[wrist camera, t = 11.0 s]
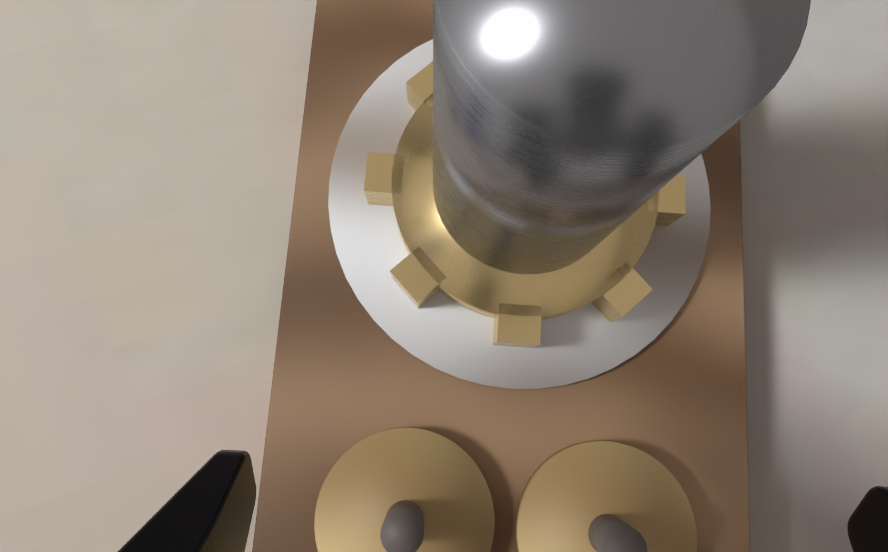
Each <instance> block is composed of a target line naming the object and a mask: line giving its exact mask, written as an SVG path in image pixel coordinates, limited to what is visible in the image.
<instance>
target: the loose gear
mask: <svg viewBox="0 0 888 552" xmlns="http://www.w3.org/2000/svg"><path fill="white" fill-rule="evenodd" d="M809 9H810V0H433V61H432V62H431V63H430V64H428V65H427V66H426V67H425V68H423V69H422V70H421V71H420V72H418V73H417V74H416V75H414V76H413V77H412V78H411V79H409V80H408V81H407V82H406V89H407V101H408V103H409V104H410V106H411V107H412V108H413V109H414V110H415V113H414V114H413V116H412V117H411V119H410V121H409V122H408V124H407V125H406V127H405V129H404V132H403V134H402V136H401V138H400V140H399V143H398V147H397V150H396V153H395V154H388V153H374V152H368V153H367V163H366V173H365V184H364V193H365V196H366V199H367V202H368V205H382V206H393V207H394V212H395V217H396V221H397V225H398V229H399V233H400V236H401V238H402V241H403V243H404V246H405V248H406V250H407V252H408V254H409V255H408V256H407V257H406V258H404V259H403V260H402V261H401V262H400V263H398V264H397V265H396V266H395V267H394V268H392V269H391V270H390V273H391V276H392V279H393V280H394V281H395V282H396V284H397V285H398V286H399V287H400V288H401V289H402V290H403V292H404V293H405V294H406V295H407V296H408V297H409V298H410V300H411V301H412V302H413V303H414V304H415V305H416V307H417V308H418V309H419V308H420V307H421V306H422V305H423V304H424V303H426V302H427V301H428V300H429V299H430V298H431V297H433V296H434V295H435V294H436V293H437V292H438V291H439V292H441V293H442V294H443V295H445V296H446V297H447V298H449V299H450V300H452V301H453V302H455V303H457V304H458V305H460V306H462V307H464V308H466V309H468V310H470V311H473V312H475V313H478V314H480V315H484V316H487V317H491V318H494V327H493V345H495V346H509V347H524V348H534V347H536V346H539V345H540V334H541V320H546V319H551V318H554V317H558V316H562V315H565V314H567V313H570V312H572V311H575V310H577V309H579V308H581V307H583V306H585V305H586V304H588V303H590V302H592V304H593V305H594V306H595V307H596V308H597V309H598V310H599V311H600V312H601V313H602V314H603V315H604V317H605V318H606V319H607V320H608V321H609V322H611V321H613V320H616V319H619V318H621V317H623V316H624V315H625V314H626V313H628V312H629V311H630V310H631V309H632V308H633V307H634V306H635V305H636V304H637V303H638V302H640V301H641V300H642V299H643V298H644V297H645V296H646V295H647V294H648V293H649V292H650V291H652V290H653V289H652V288H651V287H650V286H649V285H648V284H647V283H646V281H645V280H644V279H643V278H642V277H641V276H640V275H639V274H638V273H637V272H636V271H635V270H634V269H633V267H634V266H635V264H636V263H637V261H638V260H639V259H640V257H641V256H642V254H643V252H644V250H645V248H646V246H647V244H648V243H649V240H650V238H651V235H652V232H653V229H654V227H655V225H664V226H669V225H670V224H672V223H673V222H675V221H676V220H678V219H679V218H681V217H682V216H683V215H685V214H686V186H685V175H682V174H679V173H680V172H681V171H682V170H683V169H684V168H685V167H687V166H688V165H689V164H690V163H691V162H692V161H693V160H694V159H696V158H697V157H698V156H699V155H700V154H701V153H702V152H704V151H705V150H706V149H707V148H708V147H709V146H710V145H711V144H713V143H714V142H715V141H716V140H717V139H718V138H719V137H721V136H722V135H723V134H724V133H725V132H726V131H727V130H728V129H730V128H731V127H732V126H733V125H734V124H735V123H736V122H737V121H739V120H740V119H741V118H742V117H743V116H744V115H745V114H747V113H748V112H749V111H750V110H751V109H752V108H753V107H754V106H756V105H757V104H758V103H759V102H760V101H761V100H762V99H763V98H764V97H765V96H766V95H767V94H768V93H769V92H770V91H771V90H772V89H773V88H774V87H775V86H776V84H777V83H778V82H779V80H780V79H781V77H782V76H783V75H784V73H785V72H786V71H787V69H788V68H789V66H790V64H791V62H792V60H793V58H794V56H795V55H796V53H797V51H798V49H799V47H800V44H801V41H802V38H803V35H804V32H805V29H806V26H807V20H808V14H809Z"/></svg>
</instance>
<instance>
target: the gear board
mask: <svg viewBox="0 0 888 552" xmlns="http://www.w3.org/2000/svg"><path fill="white" fill-rule="evenodd" d="M432 61H433V0H317V5H316V14H315V22H314V31H313V39H312V48H311V56H310V65H309V73H308V82H307V90H306V99H305V107H304V116H303V124H302V133H301V141H300V150H299V158H298V167H297V175H296V184H295V193H294V201H293V210H292V218H291V227H290V235H289V244H288V252H287V261H286V269H285V278H284V286H283V295H282V303H281V312H280V320H279V329H278V337H277V346H276V354H275V363H274V371H273V380H272V388H271V397H270V405H269V414H268V422H267V431H266V439H265V448H264V456H263V465H262V473H261V482H260V490H259V499H258V507H257V516H256V524H255V533H254V541H253V550H252V552H750V544H749V501H748V459H747V416H746V373H745V330H744V287H743V244H742V201H741V158H740V120H739V121H737V122H736V123H735V124H734V125H733V126H732V127H731V128H730V129H728V130H727V131H726V132H725V133H724V134H723V135H722V136H721V137H719V138H718V139H717V140H716V141H715V142H714V143H713V144H711V145H710V146H709V147H708V148H707V149H706V150H705V151H704V152H702V153H701V154H700V155H699V156H698V157H697V158H696V159H694V160H693V161H692V162H691V163H690V164H689V165H688V166H687V167H685V168H684V169H683V170H682V171H681V172H680V173H679V174H682V175H685V186H686V214H685V215H683V216H682V217H681V218H679V219H678V220H676V221H675V222H673V223H672V224H670V225H669V226H664V225H655V227H654V229H653V232H652V235H651V238H650V240H649V243H648V244H647V246H646V248H645V250H644V252H643V254H642V256H641V257H640V259H639V260H638V261H637V263H636V264H635V266H634V267H633V269H634V270H635V271H636V272H637V273H638V274H639V275H640V276H641V277H642V278H643V279H644V280H645V281H646V283H647V284H648V285H649V286H650V287H651V288H652V289H653V290H652V291H650V292H649V293H648V294H647V295H646V296H645V297H644V298H643V299H642V300H641V301H640V302H638V303H637V304H636V305H635V306H634V307H633V308H632V309H631V310H630V311H629V312H628V313H626V314H625V315H624V316H623V317H621V318H619V319H616V320H613V321H611V322H609V321H608V320H607V319H606V318H605V317H604V315H603V314H602V313H601V312H600V311H599V310H598V309H597V308H596V307H595V306H594V305H593V304H592V302H590V303H588V304H586V305H585V306H583V307H581V308H579V309H577V310H575V311H572V312H570V313H567V314H565V315H562V316H558V317H554V318H551V319H546V320H541V334H540V345H539V346H536V347H534V348H524V347H509V346H495V345H493V327H494V318H491V317H487V316H484V315H480V314H478V313H475V312H473V311H470V310H468V309H466V308H464V307H462V306H460V305H458V304H457V303H455V302H453V301H452V300H450V299H449V298H447V297H446V296H445V295H443V294H442V293H441V292H439V291H438V292H437V293H436V294H435V295H434V296H433V297H431V298H430V299H429V300H428V301H427V302H426V303H424V304H423V305H422V306H421V307H420V308H419V309H418V308H417V307H416V305H415V304H414V303H413V302H412V301H411V300H410V298H409V297H408V296H407V295H406V294H405V293H404V292H403V290H402V289H401V288H400V287H399V286H398V285H397V284H396V282H395V281H394V280H393V279H392V276H391V273H390V270H391V269H392V268H394V267H395V266H396V265H397V264H398V263H400V262H401V261H402V260H403V259H404V258H406V257H407V256H408V255H409V254H408V252H407V250H406V248H405V246H404V243H403V241H402V238H401V236H400V233H399V229H398V225H397V221H396V217H395V212H394V207H393V206H382V205H368V202H367V199H366V196H365V193H364V184H365V173H366V163H367V153H368V152H374V153H388V154H395V153H396V150H397V147H398V143H399V140H400V138H401V136H402V134H403V132H404V129H405V127H406V125H407V124H408V122H409V121H410V119H411V117H412V116H413V114H414V113H415V110H414V109H413V108H412V107H411V106H410V104H409V103H408V101H407V89H406V82H407V81H408V80H409V79H411V78H412V77H413V76H414V75H416V74H417V73H418V72H420V71H421V70H422V69H423V68H425V67H426V66H427V65H428V64H430V63H431V62H432Z"/></svg>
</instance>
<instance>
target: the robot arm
mask: <svg viewBox="0 0 888 552" xmlns="http://www.w3.org/2000/svg"><path fill="white" fill-rule="evenodd" d="M255 499H256V484H255V479H254V473H253V468H252V462H251V458H250V455H249V453H248V452H246V451H237V450H221V451H219V452H217V453H216V454H215V455H214V456H213V457H212V458H211V459H210V460H209V461H208V462H207V463H206V464H205V465H204V466H203V467H202V468H201V469H200V470H199V471H198V472H197V473H196V474H195V475H194V476H193V477H192V478H191V479H190V480H189V481H188V482H187V483H186V484H185V485H184V486H183V487H182V488H181V489H180V490H179V491H178V492H177V493H176V494H175V495H174V496H173V497H172V498H171V499H170V500H169V501H168V502H167V503H166V504H165V505H164V506H163V507H162V508H161V509H160V510H159V511H158V512H157V513H156V514H155V515H154V516H153V517H152V518H151V519H150V520H149V521H148V522H147V523H146V524H145V525H144V526H143V527H142V528H141V529H140V530H139V531H138V532H137V533H136V534H135V535H134V536H133V537H132V538H131V539H130V540H129V541H128V542H127V543H126V544H125V545H124V546H123V547H122V548H121V549H120V550H119V551H118V552H244V551H245V546H246V542H247V537H248V533H249V528H250V524H251V519H252V514H253V510H254V505H255ZM848 535H849V539H850V542H851V545H852V548H853V551H854V552H888V487H884V486H876V487H873V488H871V489H870V490H869V491H868V492H867V494H866V495H865V497H864V498H863V499H862V501H861V502H860V504H859V505H858V507H857V508H856V509H855V511H854V512H853V514H852V515H851V516H850V518H849V521H848Z"/></svg>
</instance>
